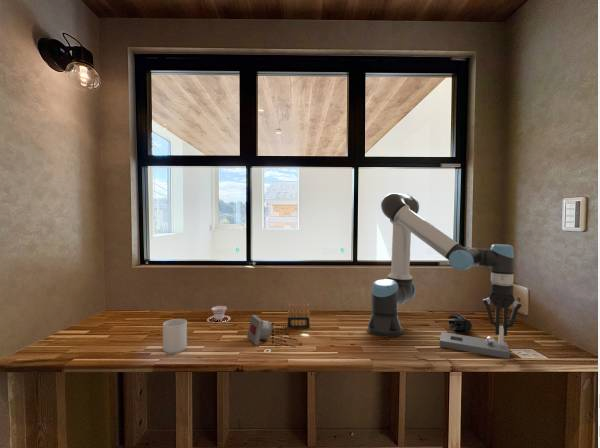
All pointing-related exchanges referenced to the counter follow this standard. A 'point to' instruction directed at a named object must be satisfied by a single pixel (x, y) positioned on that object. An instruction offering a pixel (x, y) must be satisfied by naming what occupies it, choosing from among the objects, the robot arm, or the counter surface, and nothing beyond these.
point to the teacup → (219, 314)
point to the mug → (174, 336)
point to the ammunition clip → (294, 317)
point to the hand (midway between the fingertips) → (500, 343)
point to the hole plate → (474, 345)
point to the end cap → (459, 324)
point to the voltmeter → (263, 331)
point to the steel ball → (490, 340)
